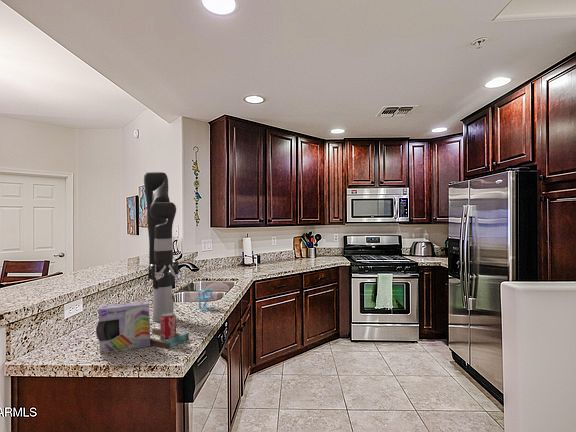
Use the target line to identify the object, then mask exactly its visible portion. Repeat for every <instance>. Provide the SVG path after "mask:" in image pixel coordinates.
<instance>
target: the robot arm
mask: <svg viewBox="0 0 576 432" xmlns="http://www.w3.org/2000/svg"><path fill="white" fill-rule="evenodd" d="M143 184H144V185H143V186H144V192H145V201H146V219H147V220H146V222H147V231H148V233H147V234H148V243H149V245H148V246H149V247H148V248H149V249H148V252H149V253H148V255H149V256H148V272H147V273H148V274H147V275H148V277H147V278H148V280H150V281H151V280H152V321H153V322H156V323H157V322H158V323H160V318H161V316H162V314H164V313H170V312H171V313H174V299H173V287H172V286H175V284H176V283H175V282H176V276H177V275H179V272H180V271H179V261H178V260H174V242H173V241H174V240H173V225H174V221H175V217H176V214H177V206H176V204H175V203H174V202H171V201H170V197H169V178H168V175H167V174H166V172H161V171H160V172H159V171H156V172H155V171H154V172H153V171H152V172H145V173H144V175H143ZM162 275H163V276H162ZM161 276H162V277H161Z"/></svg>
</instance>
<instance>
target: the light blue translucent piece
mask: <svg viewBox="0 0 576 432" xmlns="http://www.w3.org/2000/svg"><path fill="white" fill-rule="evenodd" d="M201 293H202V296H201ZM208 293H210V294H209V295H208ZM197 294H198V296H196V298H197V301H198V309H199V308H200V309H201V310H202V311H205V312H207V311H206V310H210V309H214V308H215V307H214V306H206V305H207V302H208V301H209V300H210V299H211V300H212V299H214V297H213V296H212V294H213V290H212V289H211V288H206V289H199V290H197ZM201 301H205V302H204V304H203V305H202V303H201ZM203 307H205V308H203ZM207 308H210V309H207ZM200 309H199V310H200ZM201 310H200V311H201ZM214 310H215V309H214ZM202 311H201V312H202ZM210 311H211V310H210Z"/></svg>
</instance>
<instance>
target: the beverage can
mask: <svg viewBox="0 0 576 432" xmlns="http://www.w3.org/2000/svg"><path fill="white" fill-rule="evenodd" d="M159 324H160V325H159V326H160V327H159V329H160V335H159V337H160V338H159V340H162V341H165V340H167V339H170V338H173V337H175V336H176V333H177V316H176V314H175V313H174V312H173V313H171V312H170V313H164V314H162V316H161V318H160V322H159Z"/></svg>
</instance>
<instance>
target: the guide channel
mask: <svg viewBox="0 0 576 432" xmlns="http://www.w3.org/2000/svg"><path fill="white" fill-rule="evenodd" d="M151 334H153V335H156V336H160V328H156V327H154V328H152V329H151ZM187 340H188V341H189V340H190V333H189V332H187V331H186V332H183V333H179V332H176V336H175V337H173V338H170V339H167V340H165V341H162V340H160V339H157V338H153V337H150V346H154V347H159V348H163V349H165V350H166V349H170V347H171V348H172V347H175V346H178V345H180V344H183V343H185V342H187ZM184 341H185V342H184ZM182 342H183V343H182ZM177 344H178V345H177Z"/></svg>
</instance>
